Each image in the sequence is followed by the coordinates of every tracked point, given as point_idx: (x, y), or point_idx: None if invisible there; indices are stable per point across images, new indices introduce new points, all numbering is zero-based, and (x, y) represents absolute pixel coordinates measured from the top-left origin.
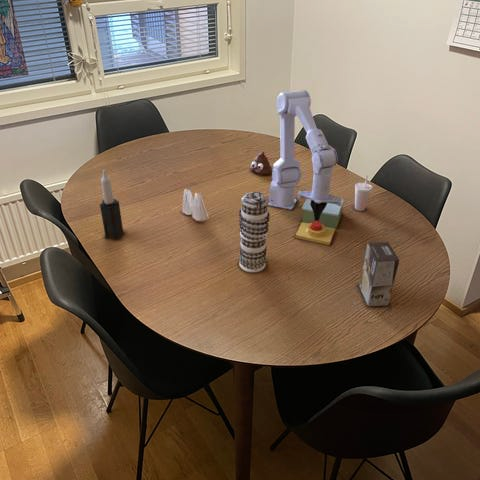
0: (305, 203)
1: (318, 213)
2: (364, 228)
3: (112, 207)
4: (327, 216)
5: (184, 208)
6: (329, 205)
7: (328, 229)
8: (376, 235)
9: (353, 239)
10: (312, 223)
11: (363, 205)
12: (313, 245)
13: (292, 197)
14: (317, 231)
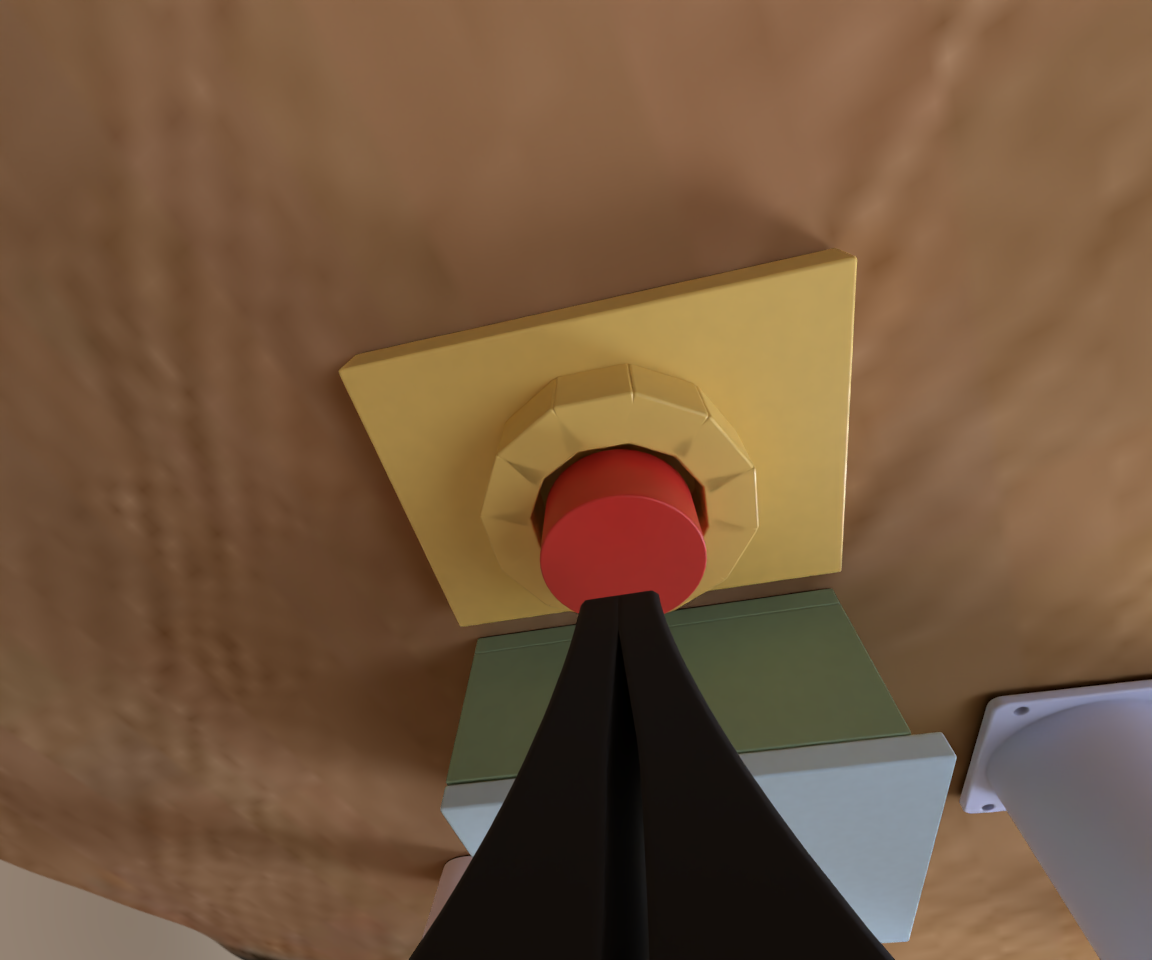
0: (921, 833)
1: (584, 763)
2: (298, 734)
3: None
4: None
5: None
6: None
7: (509, 589)
8: (162, 704)
9: (247, 579)
10: (685, 544)
11: (432, 918)
12: (523, 219)
13: (1070, 840)
14: (557, 449)
